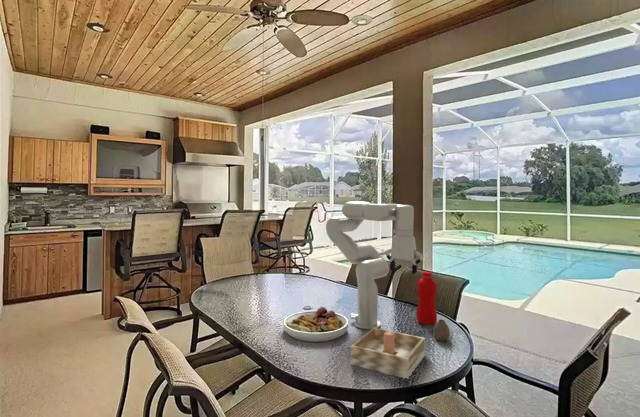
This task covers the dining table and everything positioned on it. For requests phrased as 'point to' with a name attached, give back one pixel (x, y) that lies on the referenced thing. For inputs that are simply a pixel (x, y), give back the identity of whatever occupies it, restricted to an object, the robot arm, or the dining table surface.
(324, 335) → the bowl
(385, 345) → the peg
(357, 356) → the insert box
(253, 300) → the dining table surface
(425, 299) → the water bottle
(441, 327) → the vase
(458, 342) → the dining table surface
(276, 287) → the dining table surface
